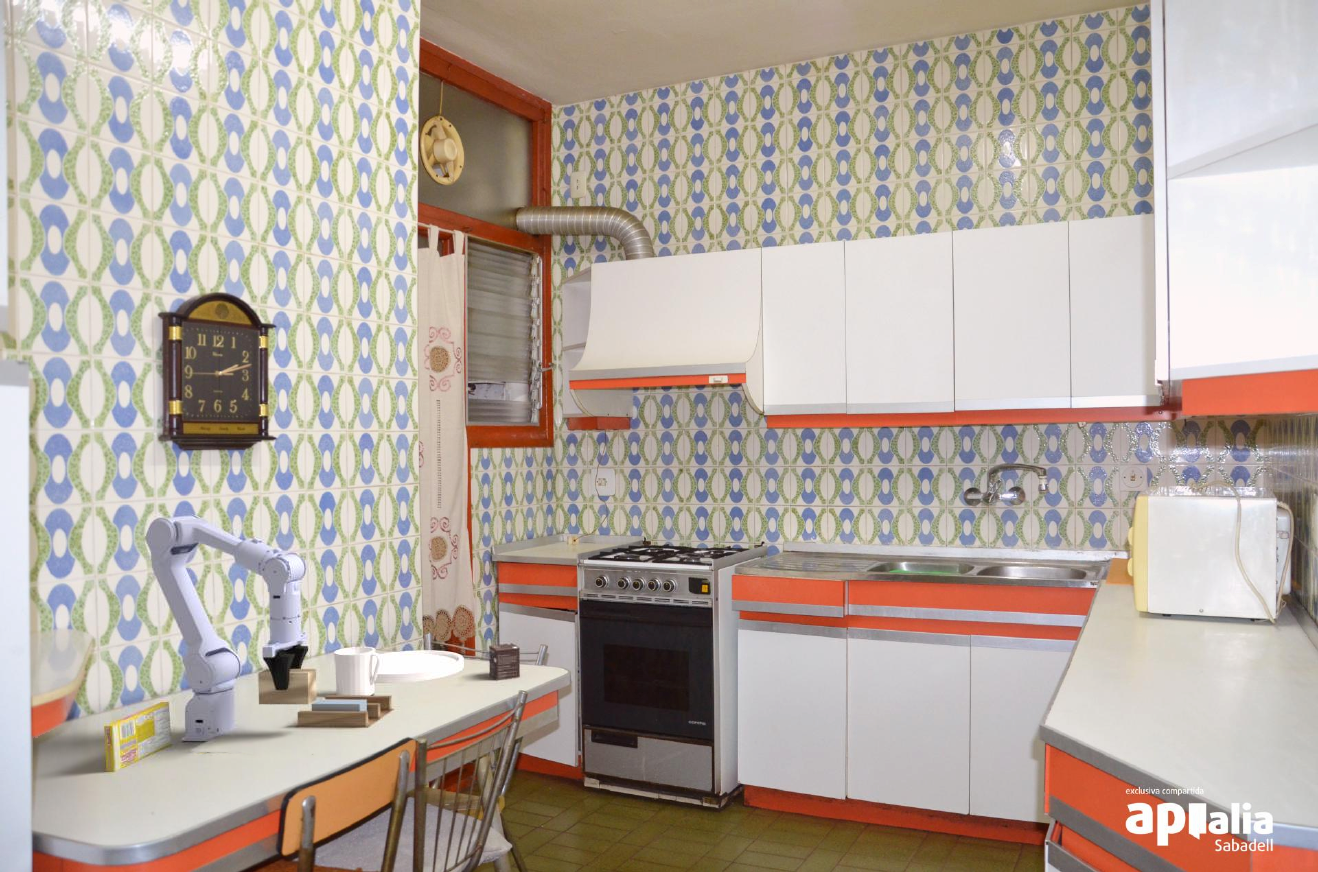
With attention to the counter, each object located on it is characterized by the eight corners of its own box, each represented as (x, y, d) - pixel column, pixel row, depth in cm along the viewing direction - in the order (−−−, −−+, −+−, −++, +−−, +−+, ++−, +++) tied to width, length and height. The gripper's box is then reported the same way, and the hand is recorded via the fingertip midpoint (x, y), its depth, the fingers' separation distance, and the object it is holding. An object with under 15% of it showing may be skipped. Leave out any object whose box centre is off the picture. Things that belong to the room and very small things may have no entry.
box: (489, 675, 246) (488, 645, 246) (513, 672, 249) (512, 642, 249) (496, 680, 241) (495, 649, 241) (520, 677, 243) (519, 647, 243)
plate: (332, 685, 241) (331, 674, 241) (369, 660, 269) (369, 650, 269) (448, 683, 240) (448, 673, 240) (474, 658, 268) (474, 649, 268)
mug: (327, 700, 225) (326, 654, 225) (348, 690, 234) (347, 646, 234) (371, 702, 222) (370, 655, 223) (391, 692, 231) (390, 647, 231)
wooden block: (308, 704, 194) (307, 672, 194) (258, 704, 195) (258, 672, 195) (316, 699, 198) (315, 668, 198) (267, 699, 199) (267, 668, 199)
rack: (367, 732, 199) (367, 712, 199) (294, 731, 200) (294, 712, 200) (394, 713, 213) (394, 695, 213) (326, 712, 214) (325, 694, 214)
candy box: (162, 744, 194) (161, 701, 194) (172, 744, 194) (171, 701, 194) (104, 771, 178) (103, 724, 178) (115, 772, 178) (114, 724, 178)
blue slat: (360, 724, 201) (359, 703, 201) (311, 723, 202) (311, 703, 202) (367, 719, 205) (366, 699, 205) (319, 718, 206) (319, 699, 206)
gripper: (287, 623, 189) (288, 696, 189) (321, 610, 203) (322, 678, 203) (251, 623, 190) (252, 696, 190) (288, 610, 204) (289, 678, 204)
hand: (286, 687), depth 197 cm, fingers closed on wooden block, 3 cm apart
